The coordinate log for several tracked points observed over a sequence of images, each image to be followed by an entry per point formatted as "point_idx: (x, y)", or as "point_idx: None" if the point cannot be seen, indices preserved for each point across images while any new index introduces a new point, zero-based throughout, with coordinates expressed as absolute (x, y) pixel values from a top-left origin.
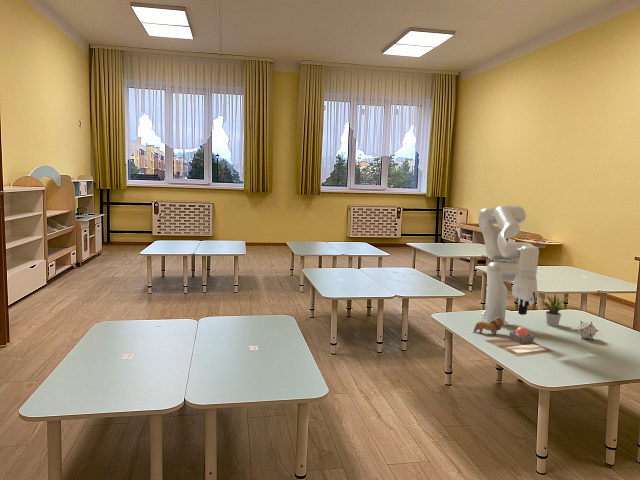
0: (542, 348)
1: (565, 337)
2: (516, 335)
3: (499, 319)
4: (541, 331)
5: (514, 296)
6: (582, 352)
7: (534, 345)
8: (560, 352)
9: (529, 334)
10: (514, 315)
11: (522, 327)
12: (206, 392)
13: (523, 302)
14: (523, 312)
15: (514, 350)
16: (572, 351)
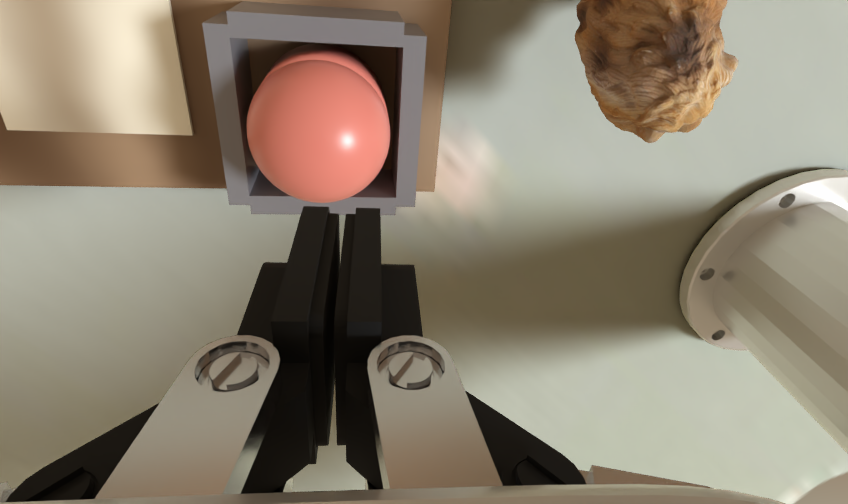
0: (37, 113)
1: (338, 467)
2: (293, 15)
3: (658, 50)
4: None
5: (661, 493)
6: (39, 386)
7: (142, 107)
8: (36, 248)
9: (284, 197)
10: (755, 464)
11: (298, 145)
12: None
13: (205, 445)
14: (273, 263)
15: None
16: (62, 343)
